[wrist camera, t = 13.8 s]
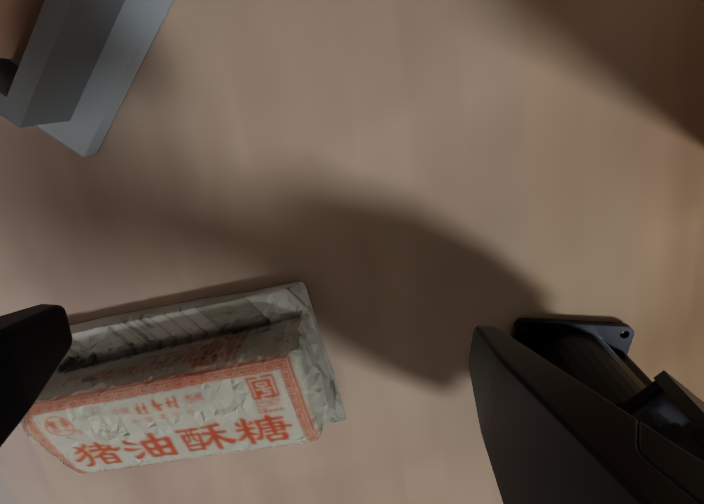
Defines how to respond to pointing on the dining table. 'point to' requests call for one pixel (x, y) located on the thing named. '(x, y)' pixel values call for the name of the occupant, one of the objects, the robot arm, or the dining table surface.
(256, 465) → the dining table surface
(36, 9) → the terracotta block
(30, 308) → the robot arm
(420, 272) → the dining table surface
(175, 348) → the packaged product
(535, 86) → the dining table surface
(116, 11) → the box
